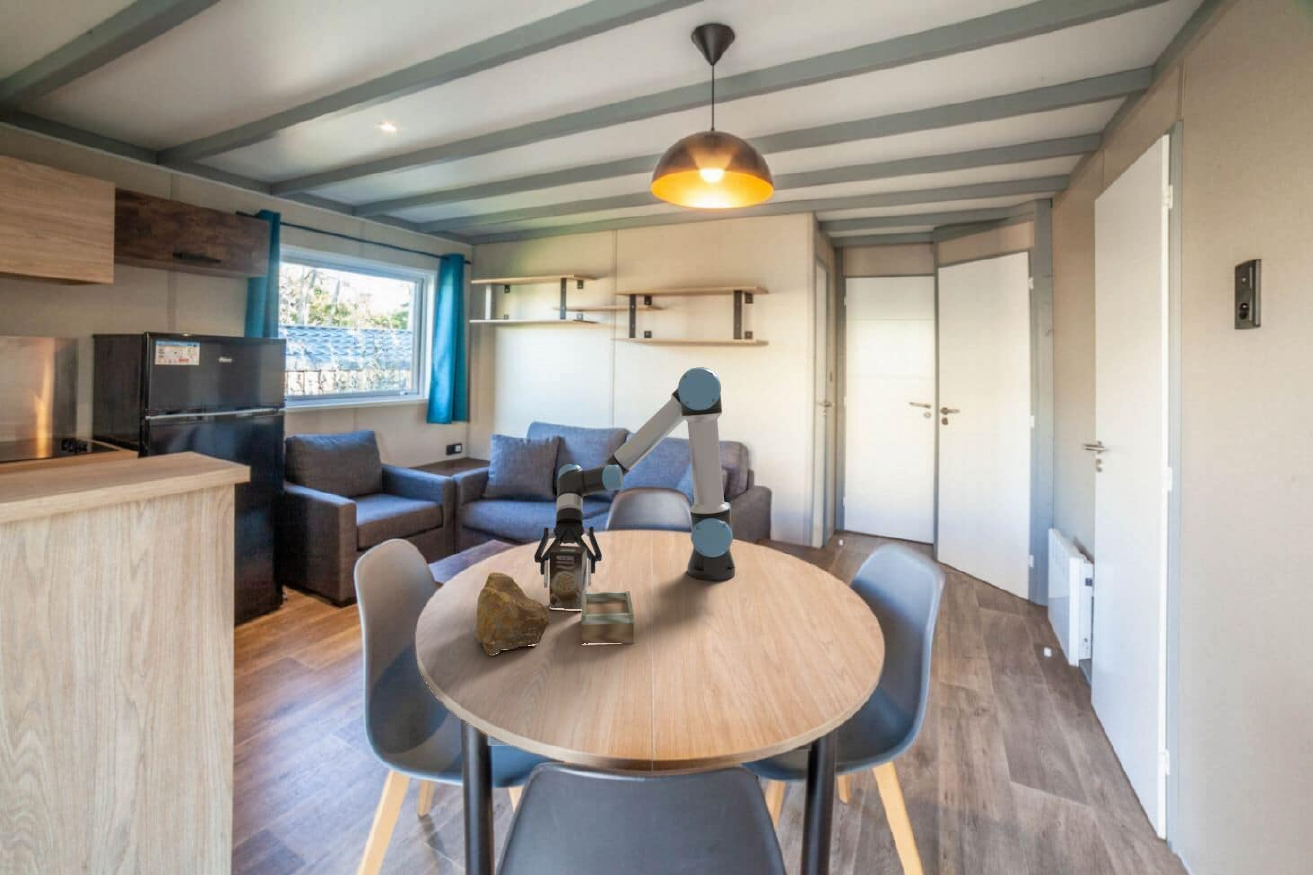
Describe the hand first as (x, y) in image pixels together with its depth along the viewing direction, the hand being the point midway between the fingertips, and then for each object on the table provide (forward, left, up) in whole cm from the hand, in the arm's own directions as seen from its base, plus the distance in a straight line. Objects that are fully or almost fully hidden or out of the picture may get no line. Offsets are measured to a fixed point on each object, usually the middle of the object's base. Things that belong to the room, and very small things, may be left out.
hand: (567, 584), depth 151 cm
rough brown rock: (+12, +17, -7) cm, 22 cm away
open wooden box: (-10, +13, -7) cm, 18 cm away
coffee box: (0, -3, -7) cm, 8 cm away
